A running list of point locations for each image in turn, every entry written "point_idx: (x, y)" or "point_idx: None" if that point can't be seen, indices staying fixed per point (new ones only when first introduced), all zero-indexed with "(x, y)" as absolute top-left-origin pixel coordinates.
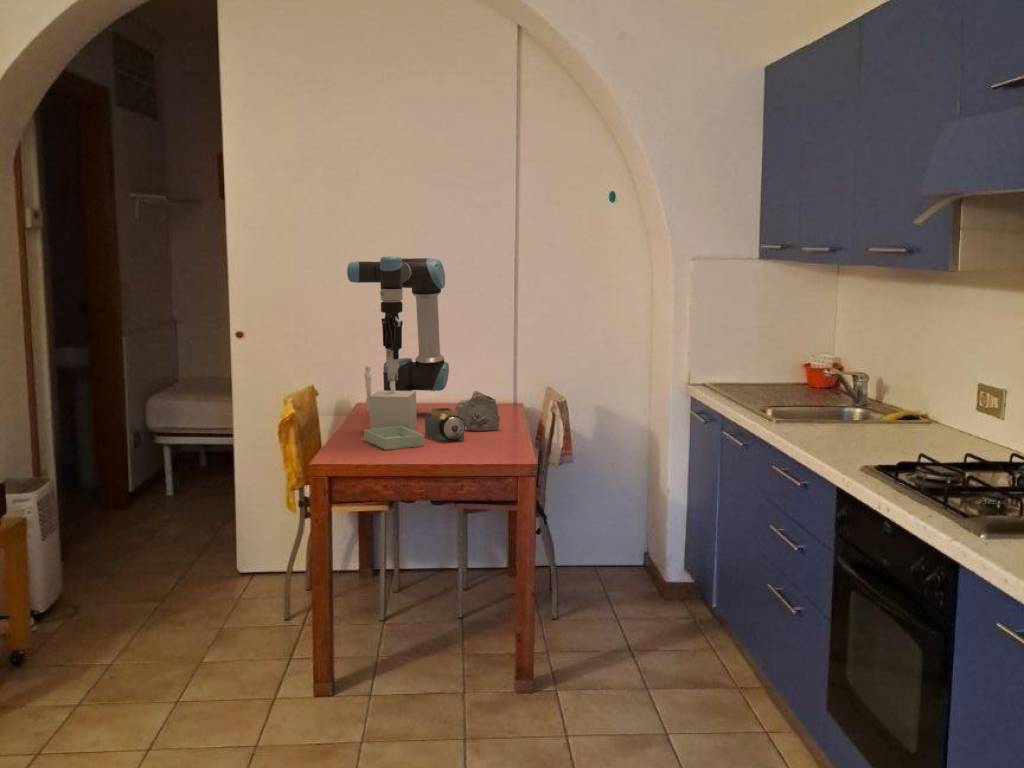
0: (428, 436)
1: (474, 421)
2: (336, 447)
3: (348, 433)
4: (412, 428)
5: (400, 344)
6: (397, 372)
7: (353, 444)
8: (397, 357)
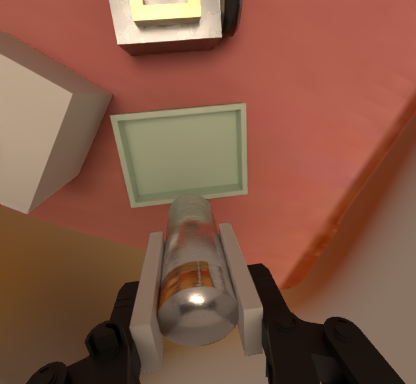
0: (151, 53)
1: None
2: None
3: (46, 209)
4: (62, 66)
5: (378, 365)
6: (208, 214)
7: (164, 222)
8: (269, 277)
